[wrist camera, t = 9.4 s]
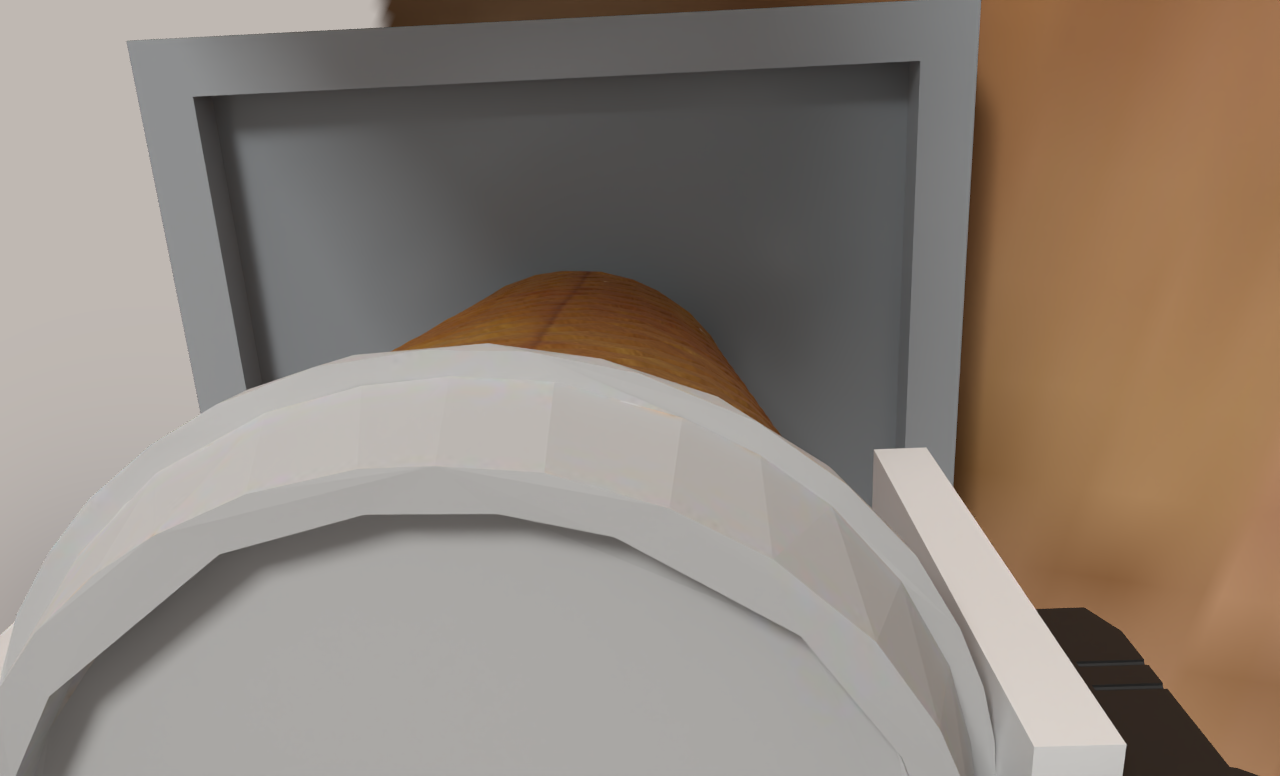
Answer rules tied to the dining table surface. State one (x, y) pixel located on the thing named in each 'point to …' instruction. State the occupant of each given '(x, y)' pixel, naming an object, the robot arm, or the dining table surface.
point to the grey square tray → (589, 194)
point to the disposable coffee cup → (491, 577)
